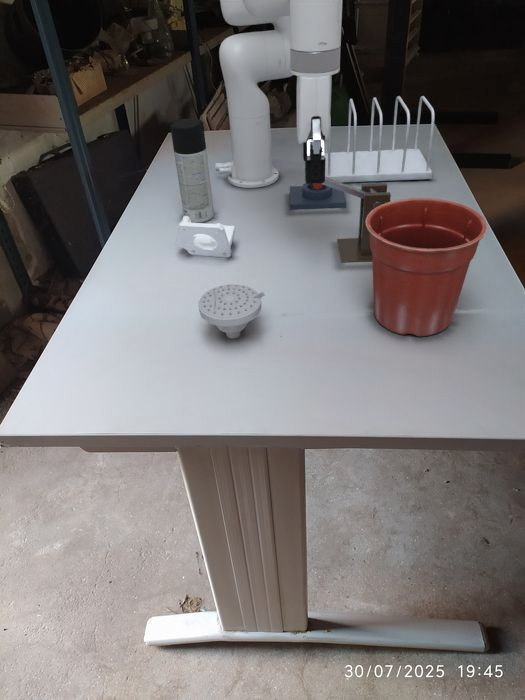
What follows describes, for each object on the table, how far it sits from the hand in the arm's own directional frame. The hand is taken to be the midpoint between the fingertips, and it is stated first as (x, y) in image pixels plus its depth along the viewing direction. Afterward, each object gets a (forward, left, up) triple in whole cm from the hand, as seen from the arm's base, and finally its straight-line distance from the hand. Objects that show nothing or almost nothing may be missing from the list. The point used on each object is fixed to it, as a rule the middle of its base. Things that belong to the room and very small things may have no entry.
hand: (313, 171), depth 93 cm
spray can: (-24, +19, -16) cm, 35 cm away
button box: (+2, +24, -16) cm, 29 cm away
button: (+2, +24, -13) cm, 27 cm away
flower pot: (+15, -20, -16) cm, 30 cm away
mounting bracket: (-21, +3, -16) cm, 27 cm away
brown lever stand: (+11, 0, -16) cm, 20 cm away
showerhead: (-13, -24, -16) cm, 32 cm away
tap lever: (+6, 0, -4) cm, 7 cm away
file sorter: (+17, +43, -16) cm, 49 cm away
